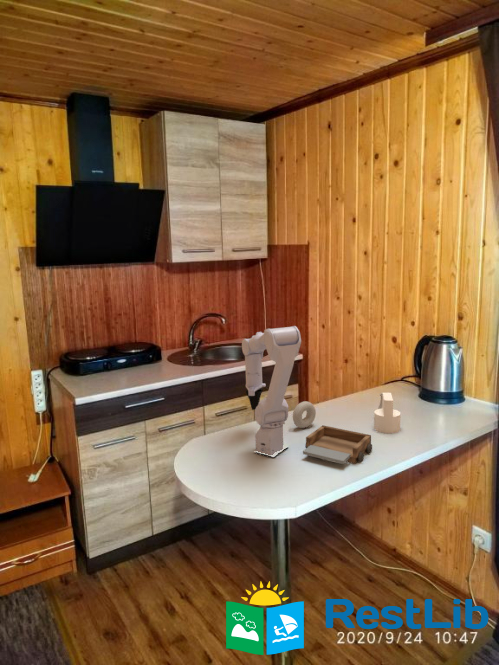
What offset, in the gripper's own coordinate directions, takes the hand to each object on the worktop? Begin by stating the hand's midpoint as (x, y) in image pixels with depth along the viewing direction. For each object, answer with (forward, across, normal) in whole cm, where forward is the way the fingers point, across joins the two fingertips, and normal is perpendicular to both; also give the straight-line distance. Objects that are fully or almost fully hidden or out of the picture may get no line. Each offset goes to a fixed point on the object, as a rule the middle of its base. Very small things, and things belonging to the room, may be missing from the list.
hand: (255, 409), depth 169 cm
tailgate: (+7, -17, -26) cm, 32 cm away
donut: (+10, +7, -17) cm, 21 cm away
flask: (+10, +17, -46) cm, 50 cm away
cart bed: (+9, -12, -29) cm, 32 cm away
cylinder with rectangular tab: (+10, +8, -46) cm, 48 cm away
